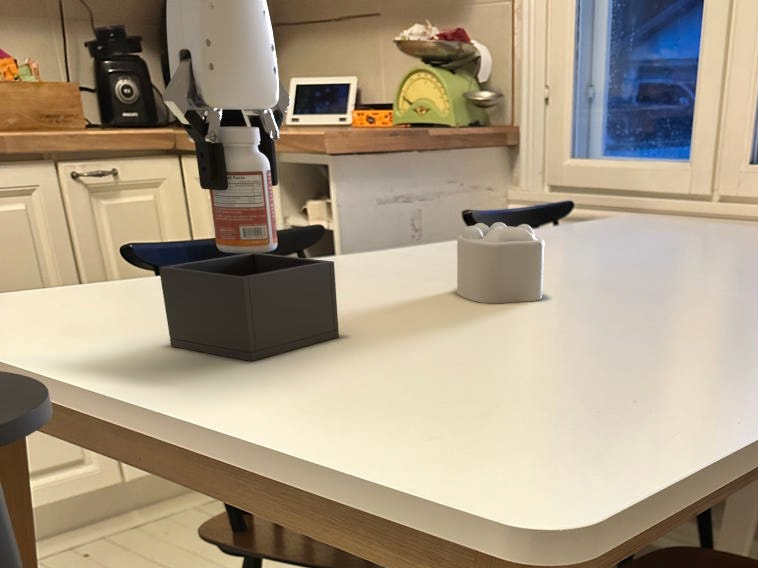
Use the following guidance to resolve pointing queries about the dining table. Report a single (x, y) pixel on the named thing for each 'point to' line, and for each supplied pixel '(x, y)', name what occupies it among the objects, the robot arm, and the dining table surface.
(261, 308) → the basket
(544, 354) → the dining table surface
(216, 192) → the pill bottle
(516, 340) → the dining table surface
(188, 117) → the robot arm
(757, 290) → the dining table surface
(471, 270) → the lumpy-topped squat cylinder
